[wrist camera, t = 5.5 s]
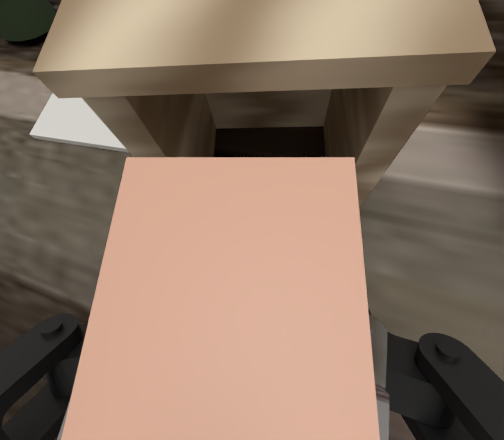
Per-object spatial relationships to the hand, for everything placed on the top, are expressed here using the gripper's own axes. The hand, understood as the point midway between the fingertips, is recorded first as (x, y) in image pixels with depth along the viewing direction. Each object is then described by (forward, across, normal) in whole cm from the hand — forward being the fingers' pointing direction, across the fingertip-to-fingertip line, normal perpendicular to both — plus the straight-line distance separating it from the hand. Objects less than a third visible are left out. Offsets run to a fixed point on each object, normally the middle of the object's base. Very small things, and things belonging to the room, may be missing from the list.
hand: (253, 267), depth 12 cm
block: (+2, 0, +5) cm, 6 cm away
